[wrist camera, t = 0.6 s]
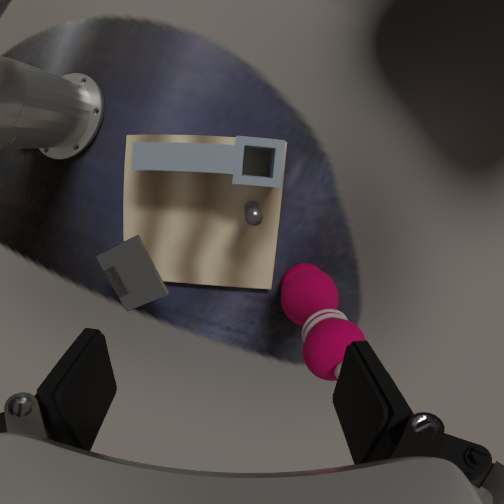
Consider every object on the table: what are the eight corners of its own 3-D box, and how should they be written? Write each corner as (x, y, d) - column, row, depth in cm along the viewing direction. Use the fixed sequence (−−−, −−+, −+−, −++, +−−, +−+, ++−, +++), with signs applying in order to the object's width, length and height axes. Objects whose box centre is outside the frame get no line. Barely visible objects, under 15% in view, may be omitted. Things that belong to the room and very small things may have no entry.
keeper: (159, 218, 37) (136, 235, 28) (182, 265, 39) (167, 294, 30) (125, 235, 38) (96, 256, 29) (148, 280, 40) (126, 311, 31)
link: (145, 176, 35) (130, 179, 29) (148, 137, 33) (133, 133, 28) (274, 184, 36) (280, 187, 30) (278, 143, 34) (285, 140, 29)
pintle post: (243, 213, 38) (244, 225, 31) (244, 199, 37) (246, 207, 30) (257, 214, 38) (262, 226, 31) (259, 200, 37) (263, 209, 30)
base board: (128, 274, 40) (125, 277, 38) (130, 135, 34) (126, 135, 33) (270, 285, 41) (271, 289, 40) (285, 143, 35) (286, 142, 34)
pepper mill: (305, 315, 42) (344, 416, 23) (266, 289, 41) (286, 390, 22) (337, 278, 41) (402, 362, 22) (299, 249, 39) (349, 326, 20)
